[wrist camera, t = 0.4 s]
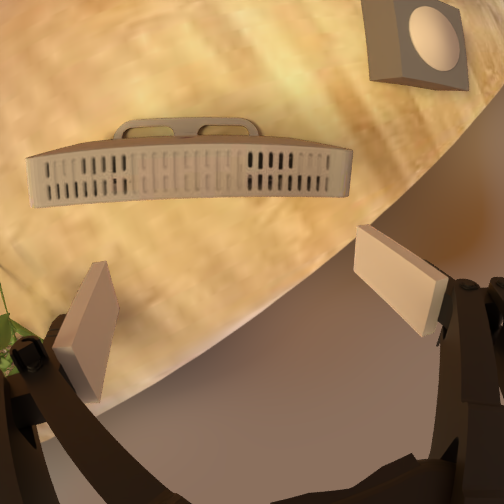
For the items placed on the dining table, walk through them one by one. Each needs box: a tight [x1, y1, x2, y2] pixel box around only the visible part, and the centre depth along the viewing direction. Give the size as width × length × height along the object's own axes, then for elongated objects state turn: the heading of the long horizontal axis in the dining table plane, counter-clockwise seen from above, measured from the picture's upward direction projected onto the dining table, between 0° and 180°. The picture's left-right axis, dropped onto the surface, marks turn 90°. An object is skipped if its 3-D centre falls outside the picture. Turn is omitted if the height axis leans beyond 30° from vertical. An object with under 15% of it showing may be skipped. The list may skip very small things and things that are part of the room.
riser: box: [361, 0, 469, 91], centre depth 34 cm, size 14×14×8 cm
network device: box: [26, 117, 353, 208], centre depth 30 cm, size 26×9×20 cm, turn 88°
